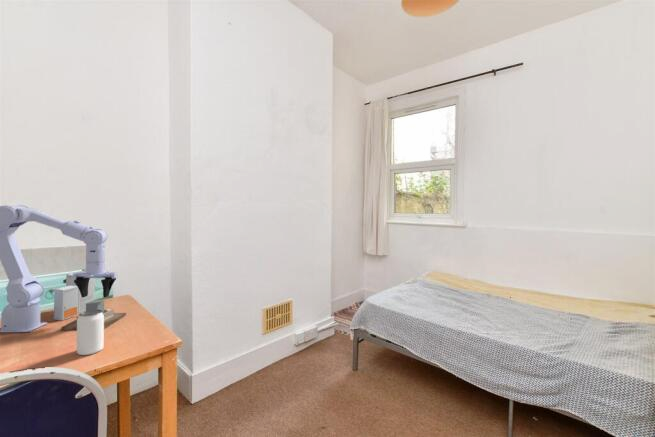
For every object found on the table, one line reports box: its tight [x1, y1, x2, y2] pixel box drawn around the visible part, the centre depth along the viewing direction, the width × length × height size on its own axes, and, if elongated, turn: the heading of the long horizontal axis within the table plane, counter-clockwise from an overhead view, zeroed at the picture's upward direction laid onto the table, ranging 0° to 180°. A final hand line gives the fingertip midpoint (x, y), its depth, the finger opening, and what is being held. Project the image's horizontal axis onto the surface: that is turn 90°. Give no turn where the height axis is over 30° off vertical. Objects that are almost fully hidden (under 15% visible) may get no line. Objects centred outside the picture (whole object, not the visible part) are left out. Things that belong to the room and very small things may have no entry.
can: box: [76, 310, 105, 356], centre depth 90 cm, size 6×6×12 cm
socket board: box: [61, 308, 127, 331], centre depth 112 cm, size 14×14×4 cm
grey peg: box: [86, 299, 105, 314], centre depth 111 cm, size 4×4×7 cm
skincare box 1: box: [53, 285, 79, 321], centre depth 115 cm, size 6×4×12 cm
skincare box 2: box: [65, 270, 96, 314], centre depth 124 cm, size 8×7×16 cm
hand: (95, 296), depth 112 cm, fingers open, 7 cm apart
